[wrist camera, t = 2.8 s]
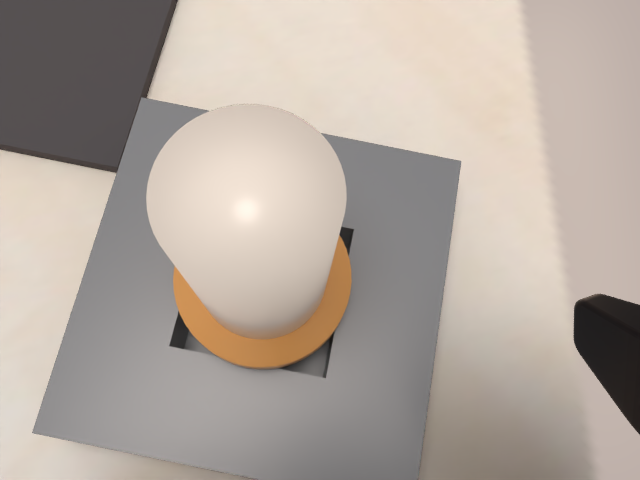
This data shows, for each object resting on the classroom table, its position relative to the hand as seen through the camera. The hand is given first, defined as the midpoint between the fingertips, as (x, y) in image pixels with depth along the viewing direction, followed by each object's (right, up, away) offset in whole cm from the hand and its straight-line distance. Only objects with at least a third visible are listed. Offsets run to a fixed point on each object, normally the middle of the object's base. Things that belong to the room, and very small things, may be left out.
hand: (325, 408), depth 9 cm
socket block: (-2, 0, +13) cm, 14 cm away
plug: (-2, 0, +13) cm, 13 cm away
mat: (-12, +11, +16) cm, 23 cm away
